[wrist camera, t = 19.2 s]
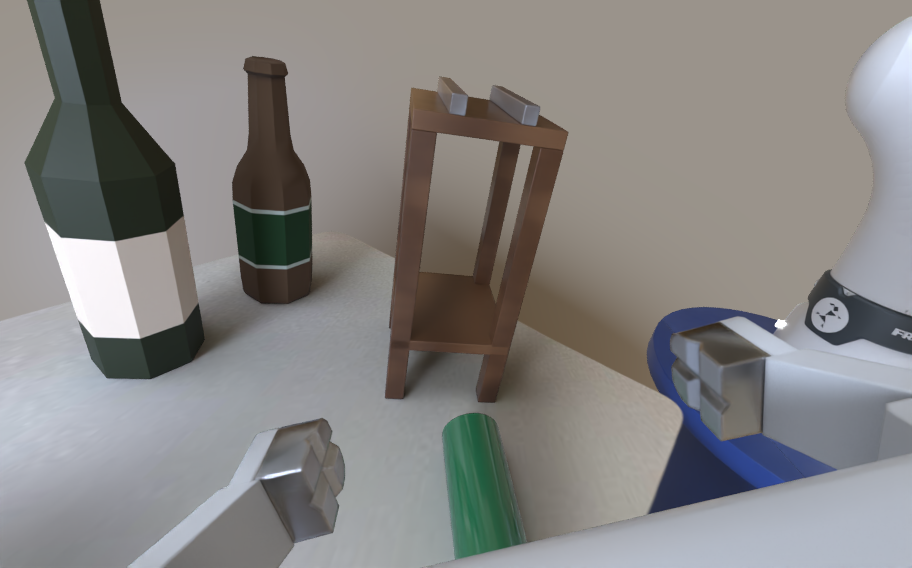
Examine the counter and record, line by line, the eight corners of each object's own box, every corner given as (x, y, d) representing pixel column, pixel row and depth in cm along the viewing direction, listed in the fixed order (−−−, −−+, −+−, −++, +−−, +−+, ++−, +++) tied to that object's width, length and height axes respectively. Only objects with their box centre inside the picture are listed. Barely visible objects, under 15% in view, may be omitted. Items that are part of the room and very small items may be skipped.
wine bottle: (64, 363, 35) (-119, -113, 21) (151, 313, 42) (62, -67, 28) (150, 392, 34) (20, -92, 19) (225, 335, 41) (171, -49, 26)
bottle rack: (476, 325, 49) (527, 90, 37) (495, 402, 39) (574, 112, 27) (389, 319, 48) (412, 72, 35) (384, 398, 37) (415, 86, 25)
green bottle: (429, 436, 32) (471, 403, 31) (468, 459, 34) (510, 429, 33) (459, 825, 16) (547, 791, 15) (529, 828, 18) (612, 798, 17)
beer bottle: (226, 296, 47) (194, 50, 35) (267, 266, 53) (251, 52, 42) (292, 312, 46) (282, 66, 34) (325, 280, 53) (326, 65, 41)
